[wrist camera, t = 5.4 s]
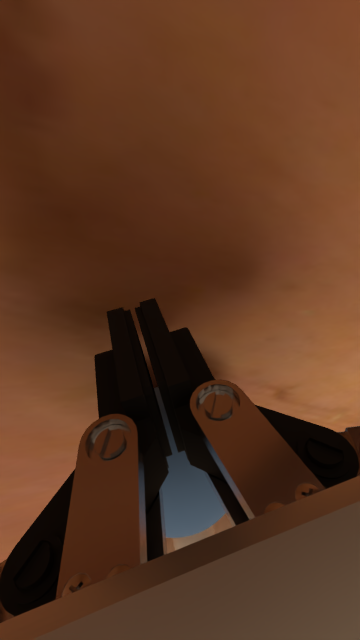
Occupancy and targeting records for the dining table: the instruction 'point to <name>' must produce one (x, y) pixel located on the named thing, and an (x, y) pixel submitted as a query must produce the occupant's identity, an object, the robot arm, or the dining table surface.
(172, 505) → the ball
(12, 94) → the dining table surface
